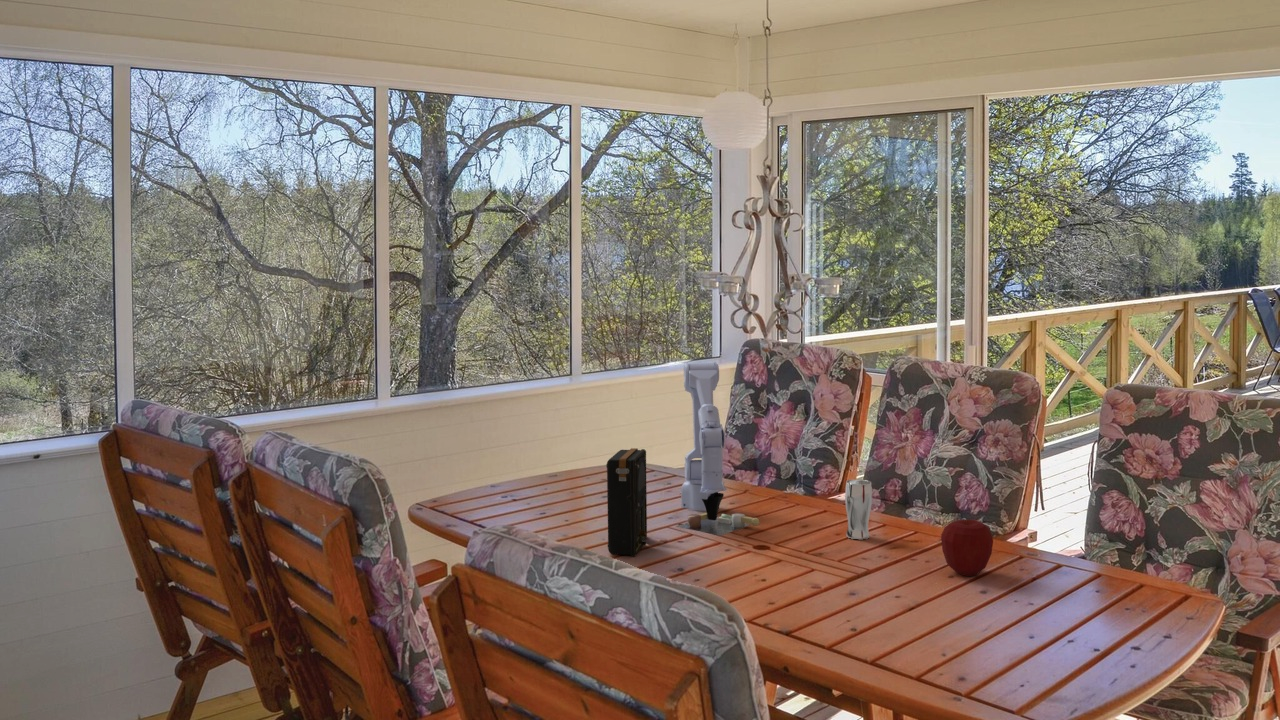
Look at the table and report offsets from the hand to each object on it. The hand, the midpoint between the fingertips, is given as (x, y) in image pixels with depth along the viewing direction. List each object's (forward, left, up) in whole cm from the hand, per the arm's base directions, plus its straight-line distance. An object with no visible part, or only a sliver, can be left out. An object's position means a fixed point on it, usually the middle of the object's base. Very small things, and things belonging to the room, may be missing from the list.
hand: (712, 519), depth 282 cm
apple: (+70, +6, -3) cm, 70 cm away
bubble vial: (+1, +5, -2) cm, 5 cm away
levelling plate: (0, 0, -3) cm, 3 cm away
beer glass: (+35, +18, -3) cm, 39 cm away
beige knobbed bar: (-3, -2, -2) cm, 3 cm away
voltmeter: (-6, -28, -3) cm, 29 cm away
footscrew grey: (+9, +4, -2) cm, 10 cm away
